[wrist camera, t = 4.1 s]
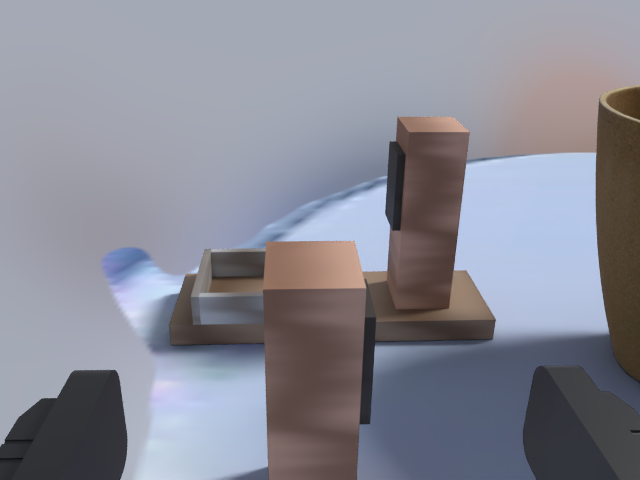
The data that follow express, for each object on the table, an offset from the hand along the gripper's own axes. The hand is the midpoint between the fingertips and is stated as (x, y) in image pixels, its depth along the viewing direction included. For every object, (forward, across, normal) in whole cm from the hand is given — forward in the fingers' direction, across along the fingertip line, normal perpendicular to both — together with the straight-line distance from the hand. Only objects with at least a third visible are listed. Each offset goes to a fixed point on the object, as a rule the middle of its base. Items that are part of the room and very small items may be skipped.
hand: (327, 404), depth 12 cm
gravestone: (+27, -2, +14) cm, 31 cm away
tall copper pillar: (+11, 0, +14) cm, 18 cm away
